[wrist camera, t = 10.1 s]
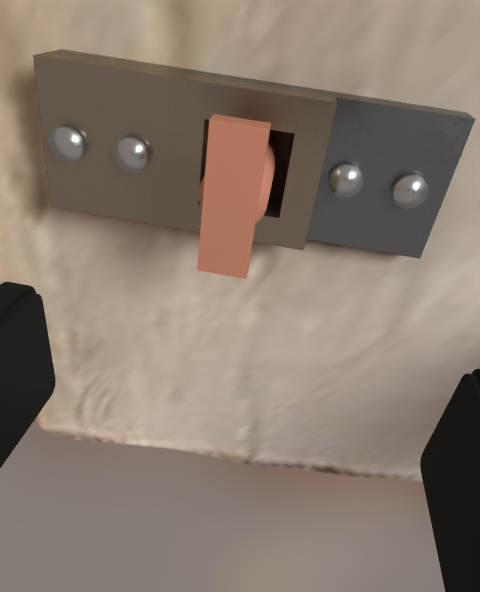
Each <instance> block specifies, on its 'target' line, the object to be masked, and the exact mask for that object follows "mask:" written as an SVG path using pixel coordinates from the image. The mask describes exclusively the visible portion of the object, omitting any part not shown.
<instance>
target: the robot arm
mask: <svg viewBox="0 0 480 592" xmlns="http://www.w3.org/2000/svg"><path fill="white" fill-rule="evenodd" d="M54 388H55V374H54V368H53V362H52V355H51V349H50V343H49V337H48V331H47V325H46V319H45V313H44V307H43V301H42V297H41V296H40V295H39V294H36V291H35V289H34V288H33V287H32V286H28V285H23V284H17V283H12V282H4V283H2V284H0V468H1V466H2V465H3V464H4V462H5V461H6V459H7V458H8V457H9V455H10V454H11V452H12V451H13V449H14V448H15V447H16V445H17V444H18V442H19V441H20V439H21V438H22V437H23V435H24V434H25V432H26V431H27V429H28V428H29V427H30V425H31V424H32V422H33V421H34V419H35V418H36V417H37V415H38V414H39V412H40V411H41V410H42V408H43V407H44V405H45V404H46V402H47V401H48V400H49V398H50V397H51V395H52V393H53V391H54ZM420 468H421V474H422V479H423V484H424V489H425V493H426V498H427V503H428V508H429V513H430V518H431V523H432V528H433V533H434V537H435V542H436V548H437V553H438V557H439V562H440V567H441V572H442V577H443V581H444V587H445V592H480V369H476V370H474V371H473V372H472V374H465V375H464V376H463V377H462V379H461V380H460V382H459V384H458V386H457V388H456V390H455V392H454V394H453V396H452V398H451V400H450V401H449V403H448V405H447V407H446V409H445V411H444V413H443V415H442V417H441V419H440V421H439V423H438V424H437V426H436V428H435V430H434V432H433V434H432V436H431V438H430V440H429V442H428V444H427V445H426V447H425V449H424V451H423V453H422V456H421V463H420Z"/></svg>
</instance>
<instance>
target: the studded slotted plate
mask: <svg viewBox="0 0 480 592" xmlns="http://www.w3.org/2000/svg"><path fill="white" fill-rule="evenodd" d="M33 58H34V67H35V75H36V83H37V92H38V100H39V108H40V117H41V125H42V134H43V142H44V150H45V159H46V167H47V175H48V184H49V192H50V201H51V207H54V208H60V209H65V210H71V211H77V212H83V213H89V214H95V215H101V216H106V217H112V218H118V219H124V220H130V221H136V222H142V223H147V224H153V225H159V226H165V227H171V228H177V229H182V230H188V231H194V232H200V230H201V217H202V209H201V206H200V203H199V197H198V196H199V187H200V184H201V182H202V180H203V178H204V176H205V168H206V155H207V143H208V130H209V119H210V118H211V117H212V116H213V114H217V115H223V116H230V117H236V118H242V119H248V120H255V121H261V122H267V123H271V127H270V130H276V131H282V132H288V133H294V137H293V142H292V148H291V153H290V159H289V164H288V170H287V175H286V180H285V186H284V191H283V197H282V198H276V197H270V196H269V199H268V204H267V208H266V211H265V213H264V215H263V217H262V218H261V219H260V220H259V221H258V222H257V223H256V224H255V231H254V237H253V242H258V243H264V244H270V245H276V246H282V247H288V248H294V249H299V250H304V246H305V241H306V239H308V240H314V241H320V242H326V243H332V244H338V245H343V246H349V247H355V248H361V249H367V250H373V251H379V252H385V253H391V254H396V255H402V256H408V257H414V258H420V257H421V255H422V252H423V250H424V247H425V245H426V242H427V240H428V237H429V235H430V232H431V230H432V227H433V224H434V222H435V219H436V217H437V214H438V212H439V209H440V207H441V204H442V202H443V199H444V197H445V194H446V192H447V189H448V187H449V184H450V182H451V179H452V176H453V174H454V171H455V169H456V166H457V164H458V161H459V159H460V156H461V154H462V151H463V149H464V146H465V144H466V141H467V139H468V136H469V134H470V131H471V128H472V126H473V123H474V121H475V118H473V117H472V116H470V115H469V114H468V113H465V112H459V111H452V110H446V109H439V108H433V107H426V106H420V105H414V104H407V103H401V102H394V101H388V100H382V99H375V98H369V97H362V96H356V95H350V94H343V93H337V92H330V91H324V90H317V89H311V88H305V87H298V86H292V85H285V84H279V83H273V82H266V81H260V80H253V79H247V78H241V77H234V76H228V75H221V74H215V73H209V72H202V71H196V70H189V69H183V68H176V67H170V66H164V65H157V64H151V63H144V62H138V61H132V60H125V59H119V58H112V57H106V56H100V55H93V54H87V53H80V52H74V51H68V50H56V51H51V52H46V53H41V54H36V55H33Z"/></svg>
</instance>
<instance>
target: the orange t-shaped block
mask: <svg viewBox="0 0 480 592" xmlns="http://www.w3.org/2000/svg"><path fill="white" fill-rule="evenodd" d="M270 127H271V123H267V122H261V121H255V120H248V119H242V118H236V117H230V116H223V115H217V114H213V116H212V117H211V118H210V119H209V130H208V143H207V155H206V168H205V176H204V178H203V180H202V182H201V184H200V187H199V196H198V197H199V203H200V206H201V209H202V217H201V230H200V242H199V255H198V267H197V270H199V271H205V272H211V273H216V274H222V275H228V276H234V277H239V278H245V279H246V278H247V273H248V269H249V263H250V256H251V250H252V244H253V237H254V231H255V224H256V223H257V222H258V221H259V220H260V219H261V218H262V217H263V215H264V213H265V211H266V208H267V204H268V199H269V195H270V190H271V186H272V181H273V176H274V172H275V167H276V162H277V156H278V153H277V147H276V144H275V142H274V140H273V138H272V137H271V136H270V135H269V133H270Z"/></svg>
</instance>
